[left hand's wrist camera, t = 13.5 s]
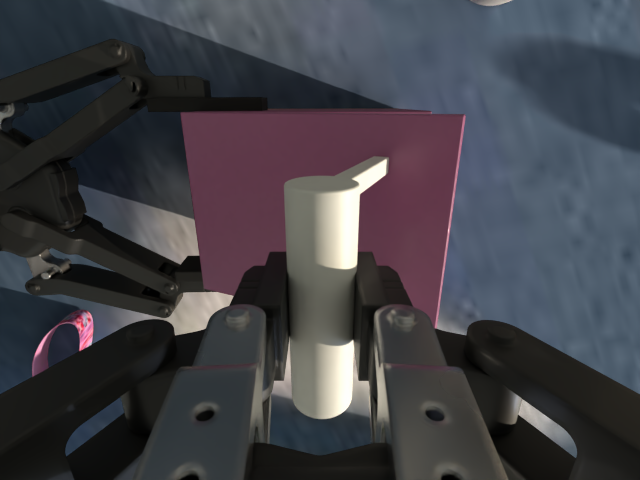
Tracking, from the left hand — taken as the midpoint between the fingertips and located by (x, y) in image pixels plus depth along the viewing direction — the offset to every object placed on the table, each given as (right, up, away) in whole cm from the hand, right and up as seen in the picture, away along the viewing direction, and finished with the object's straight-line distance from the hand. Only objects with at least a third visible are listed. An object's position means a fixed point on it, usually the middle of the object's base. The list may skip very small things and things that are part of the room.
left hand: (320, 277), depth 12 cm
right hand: (-3, +4, +12) cm, 13 cm away
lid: (0, +2, +7) cm, 7 cm away
